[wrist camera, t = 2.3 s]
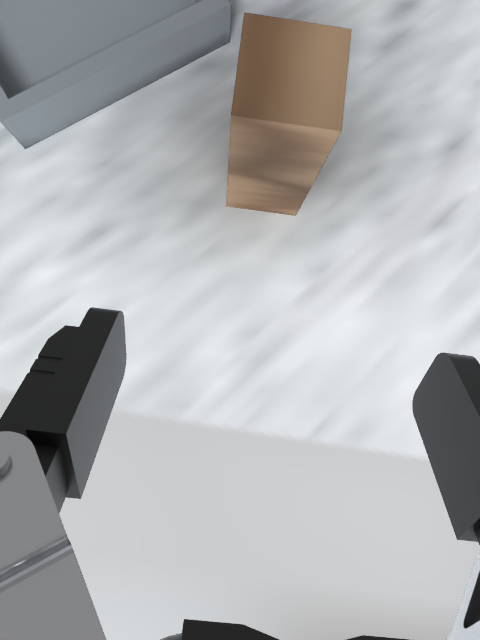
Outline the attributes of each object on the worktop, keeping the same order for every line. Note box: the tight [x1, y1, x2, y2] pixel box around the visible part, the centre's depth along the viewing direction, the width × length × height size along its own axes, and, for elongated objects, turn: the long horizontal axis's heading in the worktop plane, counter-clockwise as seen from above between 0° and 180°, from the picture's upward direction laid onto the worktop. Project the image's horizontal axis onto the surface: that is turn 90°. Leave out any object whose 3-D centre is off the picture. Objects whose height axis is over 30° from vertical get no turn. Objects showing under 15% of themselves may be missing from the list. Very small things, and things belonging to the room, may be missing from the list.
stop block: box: [226, 13, 352, 216], centre depth 22 cm, size 4×4×10 cm
